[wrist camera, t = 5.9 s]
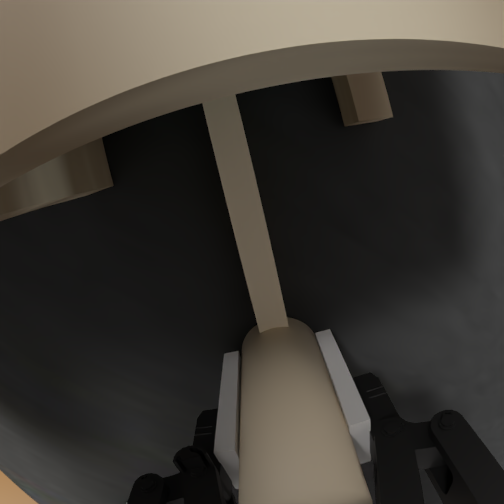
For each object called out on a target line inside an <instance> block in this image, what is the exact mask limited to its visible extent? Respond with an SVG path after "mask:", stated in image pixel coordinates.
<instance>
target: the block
mask: <svg viewBox="0 0 504 504" xmlns="http://www.w3.org/2000/svg"><path fill="white" fill-rule="evenodd" d="M202 104H203V109H204V113H205V117H206V121H207V125H208V129H209V134H210V138H211V142H212V146H213V150H214V154H215V158H216V162H217V166H218V171H219V175H220V179H221V183H222V187H223V191H224V195H225V199H226V203H227V207H228V211H229V215H230V219H231V223H232V227H233V231H234V235H235V239H236V243H237V247H238V251H239V255H240V259H241V262H242V266H243V270H244V274H245V278H246V282H247V286H248V290H249V294H250V298H251V301H252V305H253V309H254V313H255V317H256V321H257V325H256V326H254V327H253V328H252V329H251V330H250V331H249V332H248V333H247V335H246V337H245V339H244V341H243V344H242V356H241V397H240V443H239V498H238V504H373V503H372V498H371V495H370V492H369V489H368V486H367V483H366V480H365V477H364V474H363V471H362V468H361V465H360V462H359V459H358V456H357V453H356V450H355V447H354V444H353V441H352V438H351V436H350V433H349V430H348V427H347V424H346V421H345V419H344V416H343V413H342V410H341V407H340V404H339V401H338V398H337V396H336V393H335V390H334V387H333V384H332V381H331V379H330V376H329V373H328V370H327V367H326V365H325V362H324V359H323V356H322V354H321V351H320V348H319V345H318V343H317V339H316V337H315V334H314V333H313V331H312V330H311V329H310V327H308V326H307V325H306V324H305V323H303V322H301V321H299V320H297V319H294V318H289V317H287V316H286V311H285V307H284V302H283V297H282V293H281V288H280V284H279V279H278V275H277V270H276V266H275V261H274V257H273V252H272V248H271V243H270V239H269V234H268V230H267V225H266V221H265V217H264V212H263V208H262V204H261V199H260V195H259V191H258V187H257V182H256V178H255V174H254V169H253V165H252V161H251V157H250V153H249V149H248V144H247V140H246V136H245V132H244V128H243V124H242V120H241V116H240V112H239V107H238V103H237V99H236V95H231V96H227V97H223V98H219V99H215V100H211V101H207V102H204V103H202Z"/></svg>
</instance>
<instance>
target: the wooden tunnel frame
mask: <svg viewBox="0 0 504 504" xmlns="http://www.w3.org/2000/svg"><path fill="white" fill-rule="evenodd" d="M404 70H463V71H482V72H495V73H504V0H0V221H2V220H5V219H8V218H11V217H14V216H18V215H21V214H24V213H27V212H30V211H34V210H37V209H40V208H44V207H47V206H51V205H54V204H58V203H61V202H65V201H69V200H72V199H76V198H80V197H84V196H87V195H90V194H92V193H95V192H98V191H101V190H103V189H106V188H109V187H112V186H114V185H113V181H112V178H111V174H110V170H109V166H108V162H107V158H106V153H105V149H104V145H103V141H102V137H104V136H106V135H109V134H111V133H114V132H116V131H119V130H122V129H124V128H127V127H130V126H132V125H135V124H138V123H141V122H143V121H146V120H149V119H152V118H155V117H158V116H161V115H164V114H167V113H170V112H173V111H177V110H180V109H183V108H186V107H190V106H193V105H197V104H200V103H204V102H207V101H211V100H215V99H219V98H223V97H227V96H231V95H235V94H239V93H243V92H248V91H252V90H257V89H261V88H266V87H271V86H276V85H282V84H287V83H293V82H299V81H305V80H311V79H318V78H325V77H331V78H332V81H333V85H334V88H335V92H336V96H337V99H338V103H339V107H340V111H341V115H342V119H343V123H344V127H345V126H351V125H357V124H364V123H371V122H377V121H380V120H384V119H388V118H392V117H393V114H392V110H391V106H390V102H389V98H388V94H387V91H386V87H385V84H384V80H383V77H382V73H381V72H385V71H404Z"/></svg>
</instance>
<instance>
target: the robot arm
mask: <svg viewBox="0 0 504 504" xmlns="http://www.w3.org/2000/svg"><path fill="white" fill-rule="evenodd" d="M315 334H316V339H317V343H318V345H319V348H320V351H321V354H322V356H323V359H324V362H325V365H326V367H327V370H328V373H329V376H330V379H331V381H332V384H333V387H334V390H335V393H336V396H337V398H338V401H339V404H340V407H341V410H342V413H343V416H344V419H345V421H346V424H347V427H348V430H349V433H350V436H351V438H352V441H353V444H354V447H355V450H356V453H357V456H358V459H359V462H360V464H363V463H366V462H369V461H371V457H372V460H373V462H374V473H373V478H374V481H375V496H376V504H424V499H423V492H422V486H421V481H420V475H419V470H420V469H425V471H426V473H427V474H428V476H429V478H430V480H431V482H432V483H433V485H434V487H435V489H436V491H437V493H438V494H439V496H440V498H441V500H442V502H443V504H504V470H503V469H502V467H501V466H500V465H499V463H498V462H497V461H496V459H495V458H494V457H493V455H492V454H491V453H490V451H489V450H488V449H487V447H486V446H485V445H484V443H483V442H482V441H481V439H480V438H479V437H478V435H477V434H476V433H475V432H474V430H473V429H472V428H471V426H470V425H469V424H468V423H467V421H466V420H465V419H464V418H463V416H462V415H461V414H460V413H458V412H456V411H453V410H444V411H441V412H439V413H437V414H436V415H434V417H433V418H432V420H431V421H429V422H421V423H411V422H407V421H405V420H404V419H402V418H400V416H399V415H398V413H397V411H396V410H395V408H394V406H393V404H392V402H391V400H390V398H389V397H388V395H387V393H386V391H385V389H384V387H383V385H382V384H381V382H380V380H379V378H378V377H376V376H375V375H373V374H372V373H368V374H364V375H361V376H358V377H355V378H352V376H351V374H350V372H349V370H348V368H347V365H346V363H345V361H344V359H343V357H342V354H341V352H340V350H339V348H338V346H337V343H336V341H335V339H334V337H333V335H332V333H331V330H330V329H328V330H324V331H320V332H316V333H315ZM240 397H241V357H240V354H239V351H235V352H230V353H225V354H224V359H223V368H222V377H221V386H220V396H219V405H218V409H212V410H205V411H203V412H202V413H201V414H200V416H199V417H198V419H197V424H196V430H195V436H194V442H193V446H187V447H185V448H182V449H181V450H180V451H178V452H177V453H176V455H175V456H174V459H173V463H174V464H175V466H176V467H177V468H178V470H179V471H180V473H178V474H175V475H172V476H169V477H165V478H162V477H160V476H159V475H157V474H153V473H150V474H145V475H142V476H140V477H139V478H138V479H137V480H136V481H135V483H134V485H133V488H132V491H131V493H130V496H129V499H128V502H127V504H236V500H235V497H234V495H233V493H232V484H233V486H234V487H235V489H239V443H240Z"/></svg>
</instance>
